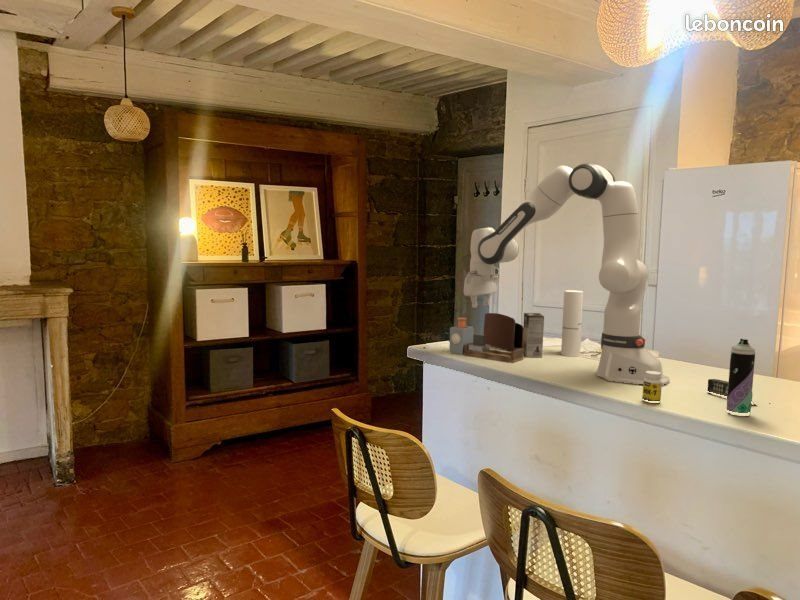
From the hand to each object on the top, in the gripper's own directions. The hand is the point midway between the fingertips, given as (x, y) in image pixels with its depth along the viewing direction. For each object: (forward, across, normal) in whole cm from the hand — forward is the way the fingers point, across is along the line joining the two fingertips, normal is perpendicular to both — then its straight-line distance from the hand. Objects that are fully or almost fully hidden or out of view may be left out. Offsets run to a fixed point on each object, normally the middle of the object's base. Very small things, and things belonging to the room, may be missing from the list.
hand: (480, 306), depth 225 cm
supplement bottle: (+19, -24, -70) cm, 76 cm away
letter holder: (+19, +24, +1) cm, 31 cm away
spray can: (+19, -21, -90) cm, 95 cm away
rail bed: (+19, 0, -6) cm, 20 cm away
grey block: (+19, 0, +8) cm, 20 cm away
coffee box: (+19, +14, -15) cm, 28 cm away
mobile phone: (+20, -6, -87) cm, 89 cm away
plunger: (+12, 0, +8) cm, 14 cm away
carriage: (+18, 0, 0) cm, 18 cm away
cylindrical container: (+19, +25, -26) cm, 41 cm away
